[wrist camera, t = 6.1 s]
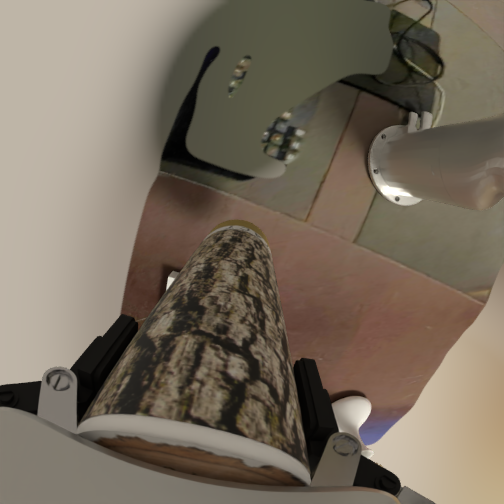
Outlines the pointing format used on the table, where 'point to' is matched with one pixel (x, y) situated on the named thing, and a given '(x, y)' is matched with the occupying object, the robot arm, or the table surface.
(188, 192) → the table surface
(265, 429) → the paper tube
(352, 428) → the flower in vase
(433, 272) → the table surface
